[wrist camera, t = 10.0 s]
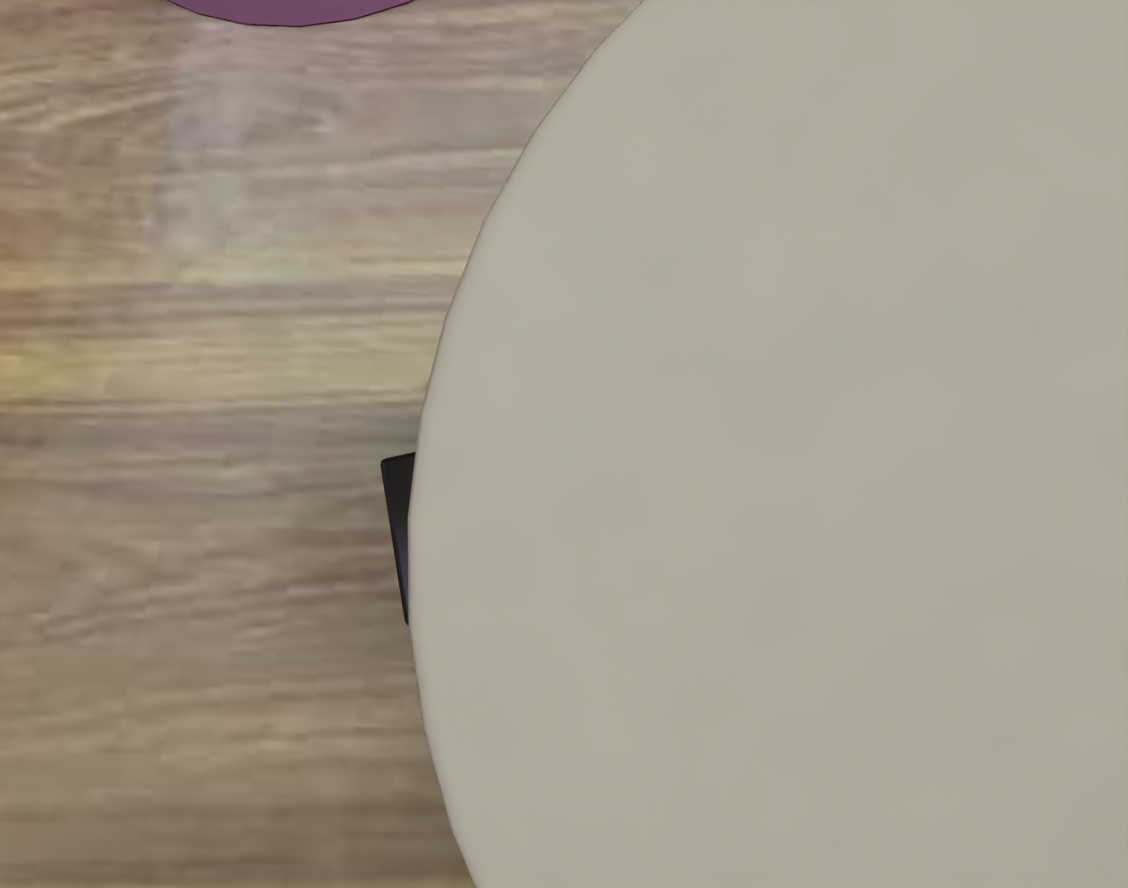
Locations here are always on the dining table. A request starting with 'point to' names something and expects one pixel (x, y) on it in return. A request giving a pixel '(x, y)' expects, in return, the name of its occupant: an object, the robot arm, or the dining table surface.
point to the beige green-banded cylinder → (792, 460)
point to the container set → (287, 10)
